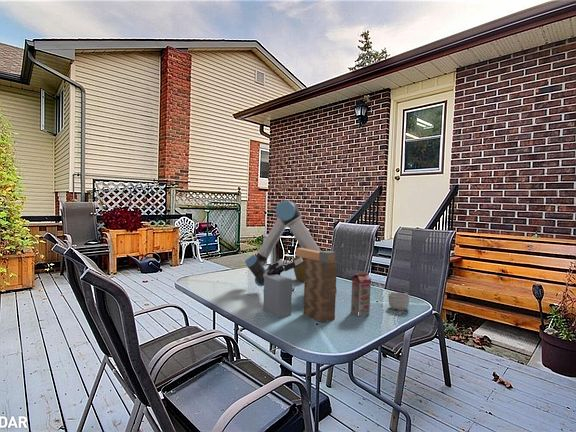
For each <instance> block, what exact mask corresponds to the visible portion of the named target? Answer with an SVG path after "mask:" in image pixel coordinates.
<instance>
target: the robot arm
mask: <svg viewBox="0 0 576 432" xmlns="http://www.w3.org/2000/svg"><path fill="white" fill-rule="evenodd" d="M275 214H276V220H275V222H274V223H273V225H272V227H271V229H270V230H269V233H268V234H267V236H266V238H265V239H264V241H263V243H262V245H261V246H260V248H259V249H258V250H257V251H258V252H257V253H256V255H255V254H252V255H251V256H249V257H248V258H247V259H245V261H244V263H245V266H246V267H247V268H248V269H249V270H250V272H251V273H252V274H253V276H254V283H255V285H256V286H257V287H264V276H268V275H275V274H278V275H281V274H282V273H283V272H287V271H289V270H292V269H294V268H295V267H297V266H299V264H300V263H301V262H303V260H302V257H300V258H298V259H297V260H295V261H294V262H293V261H292V262H289V263H287V264H284V260H283V258H280V259H279V260H278V261H276V262H275V263H272V264H269V265H268V266H267V268H265V267H264V266H265V264H266V263H267V260H268V258H269V257H270V255H271V254H272V252H273V250H274V248H275V247H276V245H277V243H278V241H279V240H280V238H281V236H282V235H283V233H284V232H285V230H286V227H288V228H289V230H290V232H291V234H292V235H293V236H294V238H295V239H296V241H297V242H298V245H300V248H305V249H310V250H315V251H322V250H321V249H320V247H319V245H318V244H317V243H316V241H315V239H314V238H313V236H312V235H311V233H310V232H309V230H308V228H307V227H306V225H305V224H304V222H303V221H302V214H301V213H300V211H299V209H298V206H297V204H296V203H295V202H294V201H293V200H288V199H287V200H285V199H284V200H282V201H280V202H278V204H277V205H276V207H275ZM336 293H337V288H336Z"/></svg>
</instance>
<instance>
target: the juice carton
mask: <svg viewBox="0 0 576 432" xmlns="http://www.w3.org/2000/svg"><path fill="white" fill-rule="evenodd" d="M351 279H352V281H351V298H350V299H351V300H350V301H351V303H350V313H351V312H352V313H351V314H353V315H354V314H355V315H354V316H356V315H357V316H356V317H358V312H359V316H361V317H365V316H364V315H368V316H370V306H371V287H372V285H371V284H372V279H371V277H370V276H369V275H368V271H355V275H353V276H351Z"/></svg>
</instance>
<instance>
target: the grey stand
mask: <svg viewBox="0 0 576 432" xmlns="http://www.w3.org/2000/svg"><path fill="white" fill-rule="evenodd" d="M292 295H293V278H290V277H287V276H284V275H281V274H280V275H278V274H275V275H268V276H264V286H263V305H262V307H263V309H262V310H263V312H265V313H268V314H270V315H271V316H274V317H275V318H277V319H280V318H283V317H288V316H291V315H292V302H293V301H292V299H293V296H292Z"/></svg>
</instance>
